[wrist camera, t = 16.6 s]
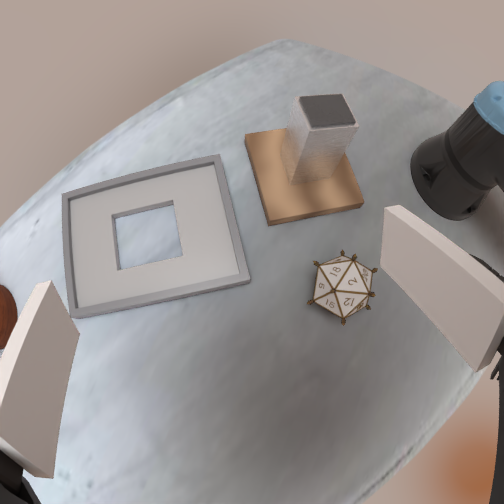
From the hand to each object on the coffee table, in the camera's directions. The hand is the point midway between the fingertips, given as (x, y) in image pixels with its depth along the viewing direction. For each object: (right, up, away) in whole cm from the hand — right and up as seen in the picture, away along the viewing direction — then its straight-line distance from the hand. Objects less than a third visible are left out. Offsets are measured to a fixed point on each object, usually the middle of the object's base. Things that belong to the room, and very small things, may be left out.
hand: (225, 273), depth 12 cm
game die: (+12, -4, +31) cm, 33 cm away
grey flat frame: (-13, +3, +31) cm, 34 cm away
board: (+8, +12, +35) cm, 38 cm away
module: (+8, +13, +33) cm, 36 cm away
